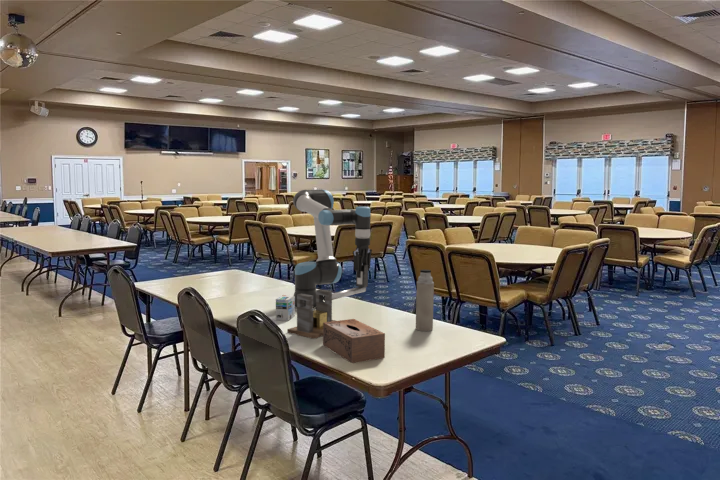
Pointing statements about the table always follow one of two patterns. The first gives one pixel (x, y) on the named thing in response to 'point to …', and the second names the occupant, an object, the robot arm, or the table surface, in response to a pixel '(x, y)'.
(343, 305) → the table surface
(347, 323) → the tissue box cover
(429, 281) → the thermos bottle
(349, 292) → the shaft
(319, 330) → the shaft stand
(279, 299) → the light bulb box
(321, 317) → the block
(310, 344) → the table surface
